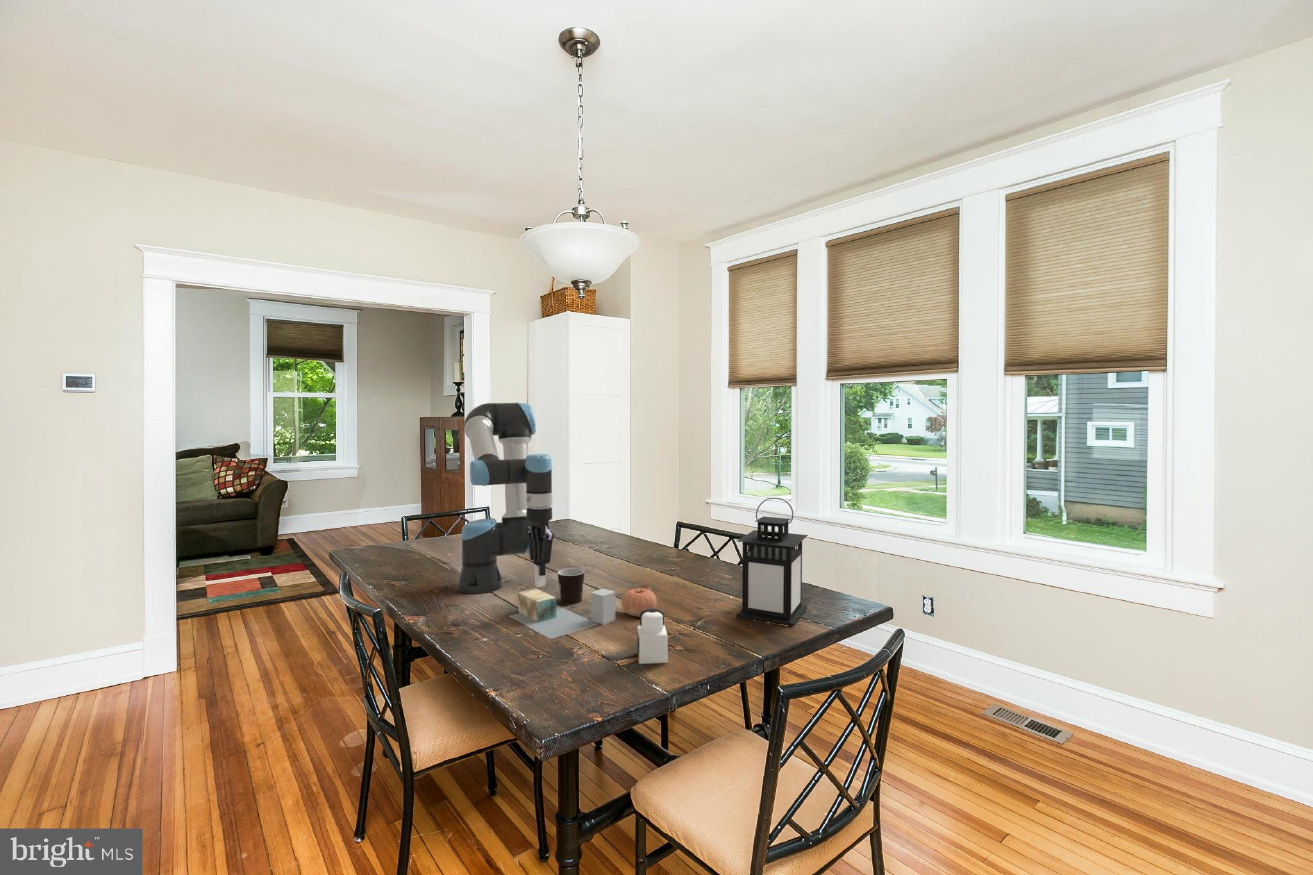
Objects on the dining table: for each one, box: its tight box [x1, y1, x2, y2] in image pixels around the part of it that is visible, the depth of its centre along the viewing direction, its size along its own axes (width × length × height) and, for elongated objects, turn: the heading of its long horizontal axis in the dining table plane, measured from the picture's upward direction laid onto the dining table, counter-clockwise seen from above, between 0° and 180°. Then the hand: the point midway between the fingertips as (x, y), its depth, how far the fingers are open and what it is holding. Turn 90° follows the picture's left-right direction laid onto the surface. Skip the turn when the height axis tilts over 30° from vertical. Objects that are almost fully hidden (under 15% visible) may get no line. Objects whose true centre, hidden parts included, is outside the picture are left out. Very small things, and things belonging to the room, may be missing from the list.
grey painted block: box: [590, 588, 616, 625], centre depth 178 cm, size 5×5×9 cm
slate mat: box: [508, 604, 600, 640], centre depth 178 cm, size 24×16×1 cm, turn 41°
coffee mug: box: [557, 567, 586, 605], centre depth 197 cm, size 12×9×10 cm
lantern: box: [735, 497, 809, 627], centre depth 184 cm, size 17×17×35 cm
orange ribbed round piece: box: [620, 587, 658, 618], centre depth 184 cm, size 11×11×8 cm
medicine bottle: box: [636, 608, 669, 665], centre depth 153 cm, size 7×7×12 cm
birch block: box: [517, 587, 557, 622], centre depth 183 cm, size 6×6×12 cm
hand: (540, 585), depth 181 cm, fingers closed
